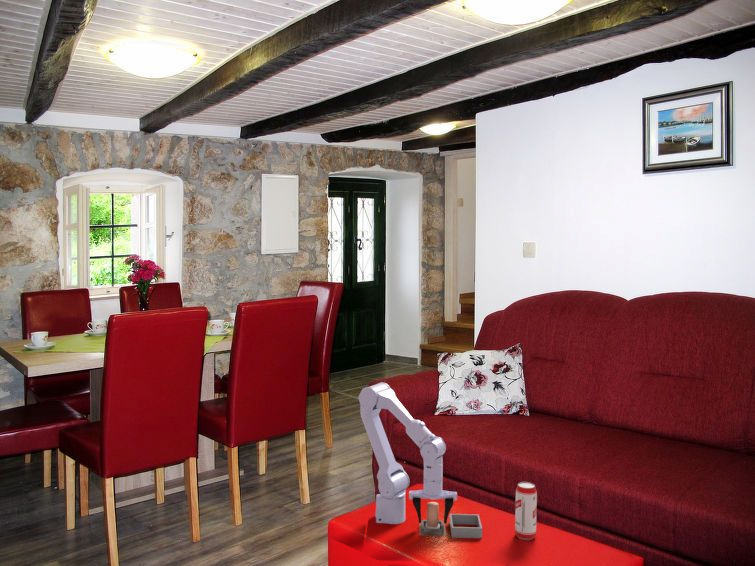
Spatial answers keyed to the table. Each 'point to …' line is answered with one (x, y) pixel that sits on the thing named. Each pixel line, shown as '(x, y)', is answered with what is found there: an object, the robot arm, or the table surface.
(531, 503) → the beer can
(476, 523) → the bin
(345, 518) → the table surface
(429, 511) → the peach cylinder
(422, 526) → the square framed plate
